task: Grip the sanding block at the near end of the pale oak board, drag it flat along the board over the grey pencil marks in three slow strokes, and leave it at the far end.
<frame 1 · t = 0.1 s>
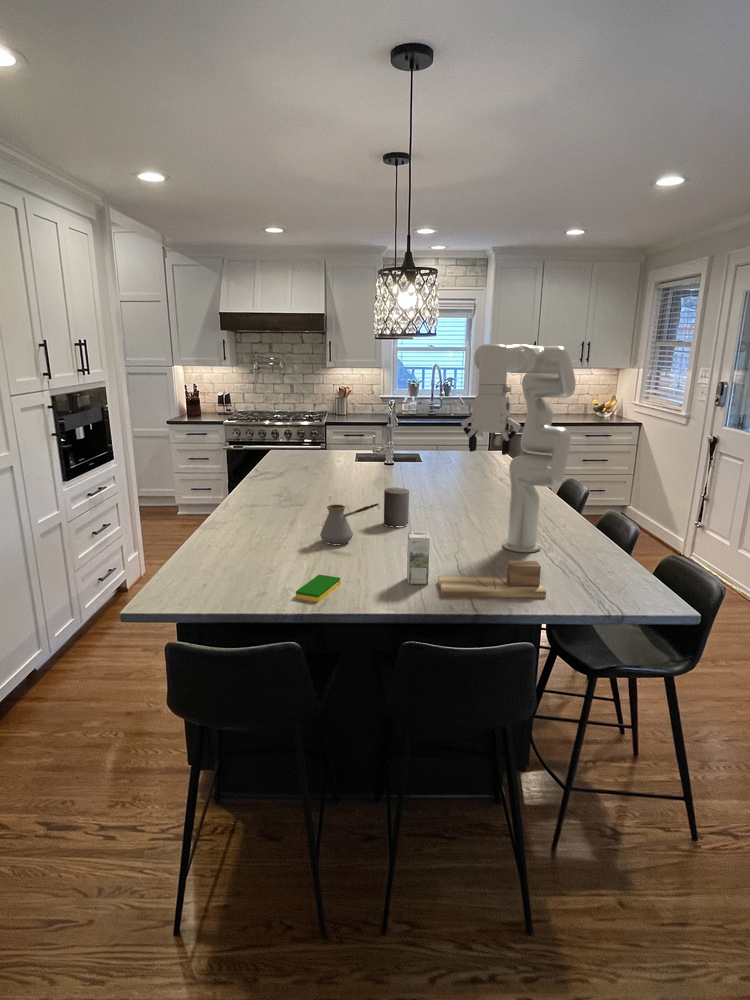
hand: (488, 452, 162), 37 cm above the kitchen island, tool pointing down, fingers open, 9 cm apart
coffee pot: (350, 543, 201), on the kitchen island
pillar candle: (396, 524, 224), on the kitchen island
dish sponge: (319, 593, 161), on the kitchen island
sanding block: (522, 583, 161), point 2 cm above the kitchen island, touching board
syrup box: (417, 582, 167), on the kitchen island
board: (490, 589, 161), on the kitchen island
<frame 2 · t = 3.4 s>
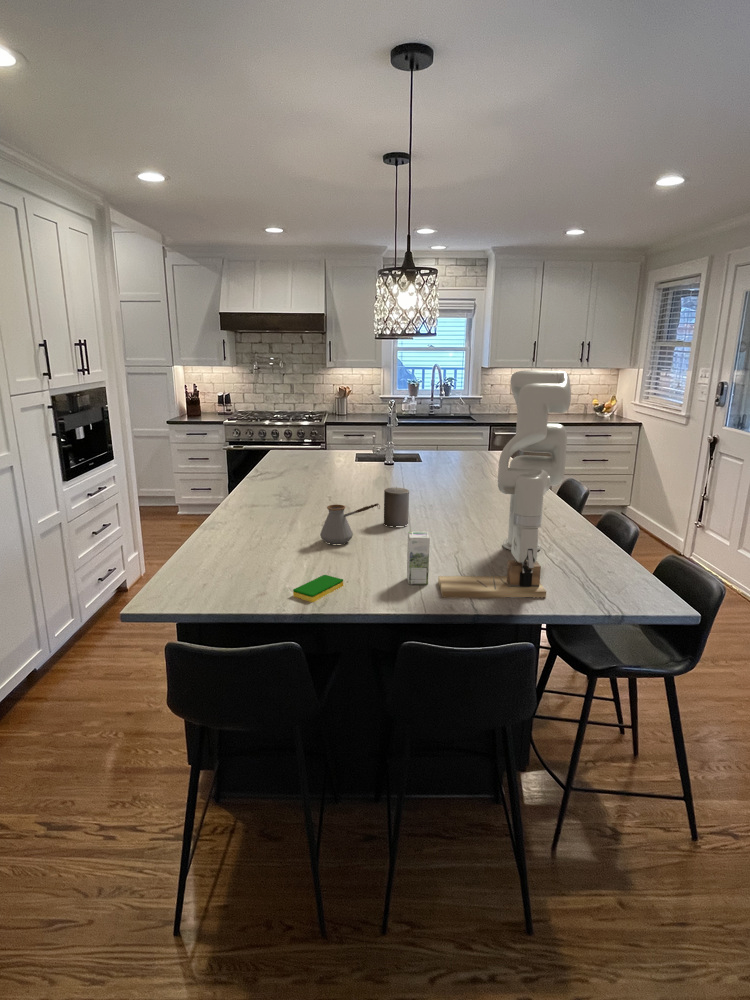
hand: (522, 581, 161), 2 cm above the kitchen island, tool pointing down, fingers closed on sanding block, 4 cm apart
sanding block: (522, 583, 161), point 2 cm above the kitchen island, touching board, gripper
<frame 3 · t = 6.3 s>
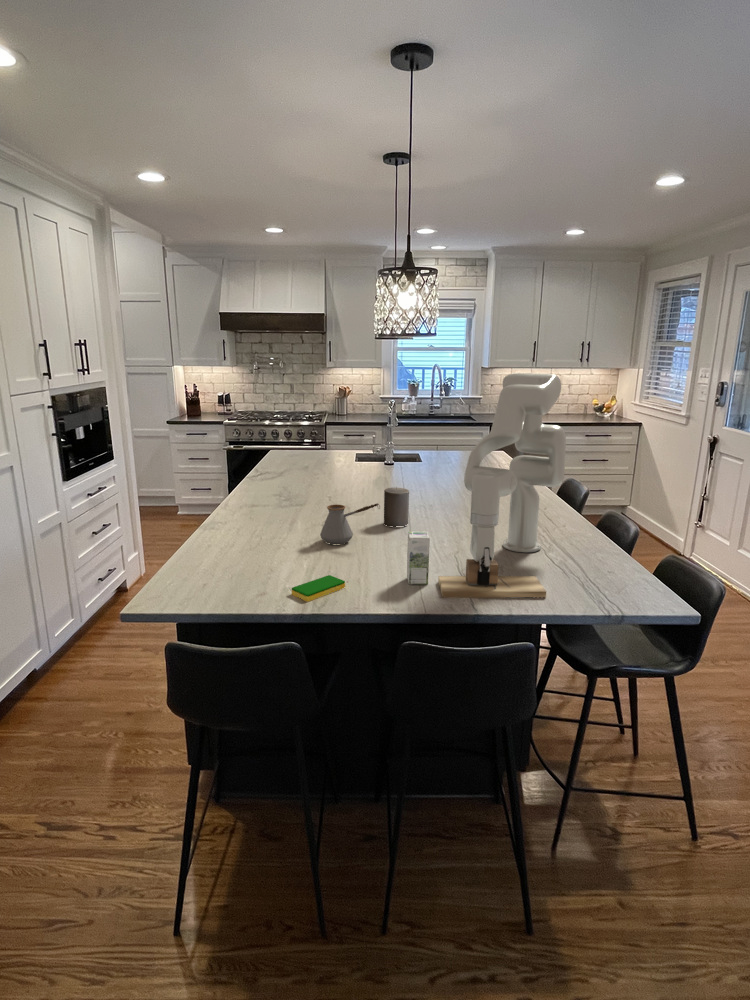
hand: (481, 580, 161), 3 cm above the kitchen island, tool pointing down, fingers closed on sanding block, 4 cm apart
sanding block: (481, 582, 161), point 2 cm above the kitchen island, touching gripper
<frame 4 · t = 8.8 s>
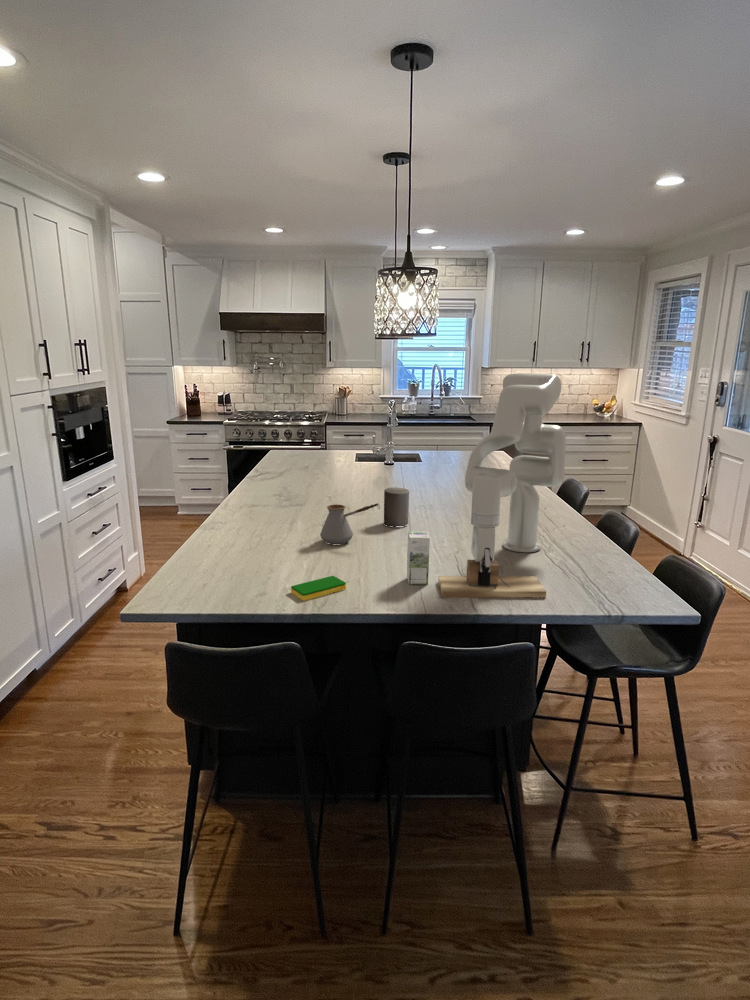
hand: (482, 580, 161), 3 cm above the kitchen island, tool pointing down, fingers closed on sanding block, 4 cm apart
sanding block: (482, 582, 161), point 2 cm above the kitchen island, touching gripper
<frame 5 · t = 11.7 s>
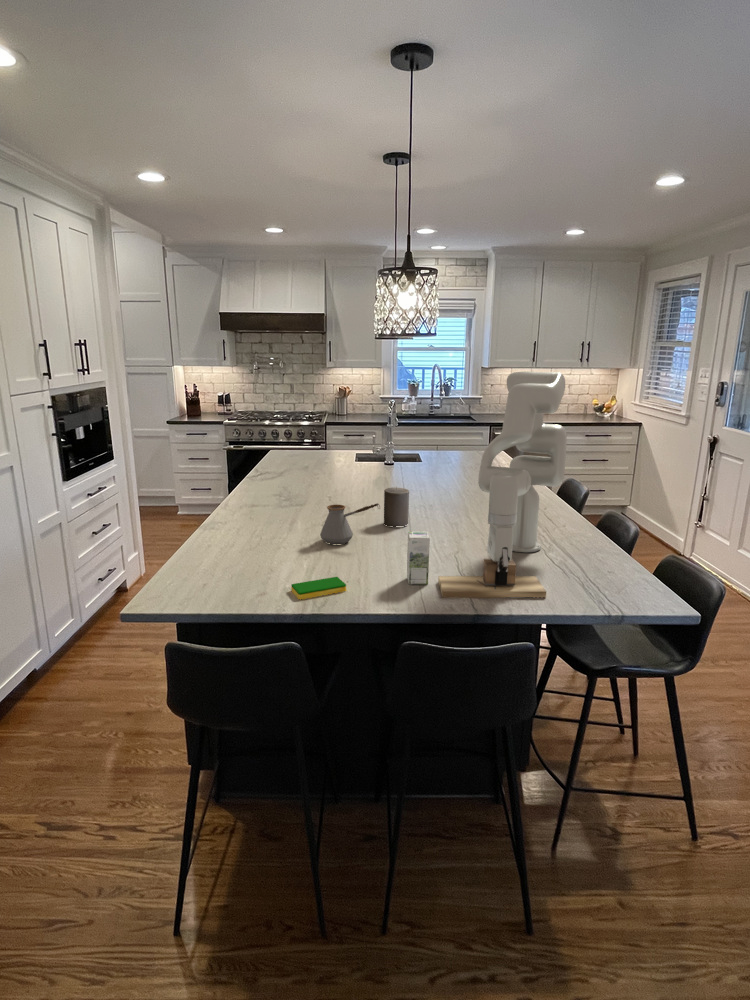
hand: (498, 580, 161), 3 cm above the kitchen island, tool pointing down, fingers closed on sanding block, 4 cm apart
sanding block: (498, 582, 161), point 2 cm above the kitchen island, touching gripper
when the fingers open (3 cm above the kitchen island, at t = 14.5 s): sanding block stays where it is, resting on board.
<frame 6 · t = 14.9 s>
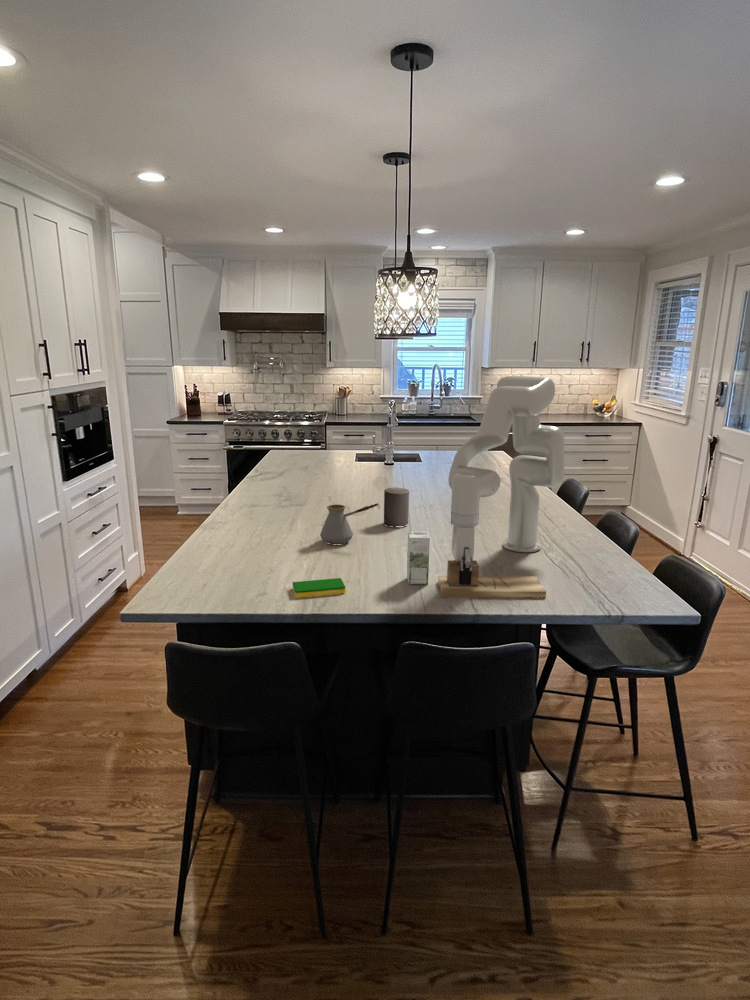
hand: (462, 577, 161), 4 cm above the kitchen island, tool pointing down, fingers open, 9 cm apart
sanding block: (462, 583, 161), point 2 cm above the kitchen island, touching board
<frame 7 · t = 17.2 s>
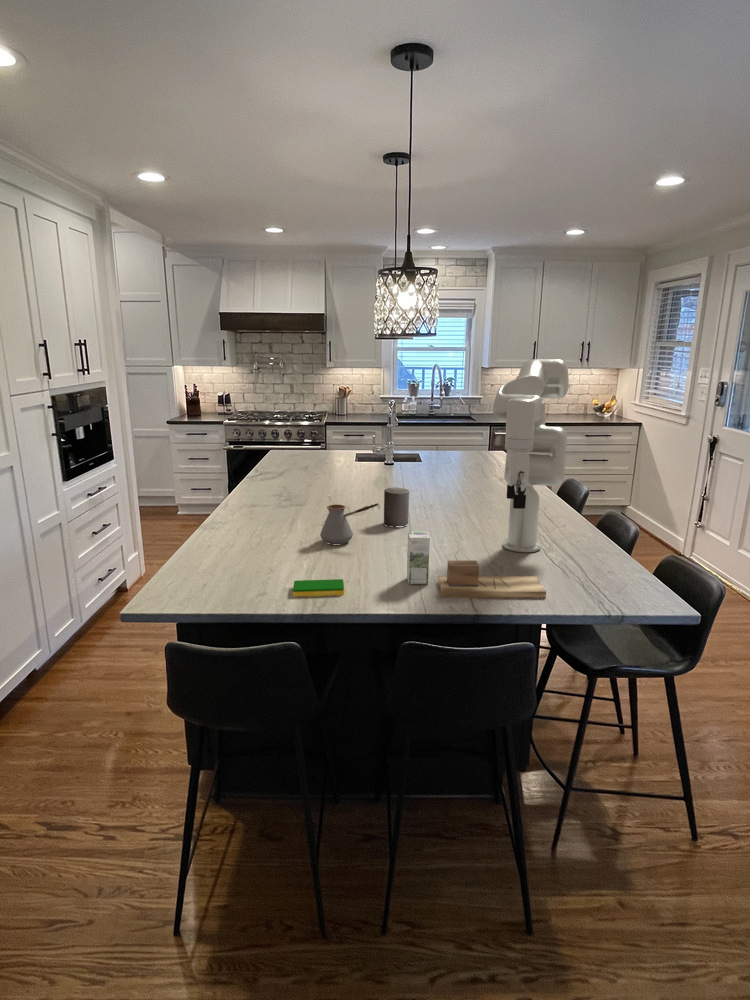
hand: (515, 503, 163), 23 cm above the kitchen island, tool pointing down, fingers open, 9 cm apart
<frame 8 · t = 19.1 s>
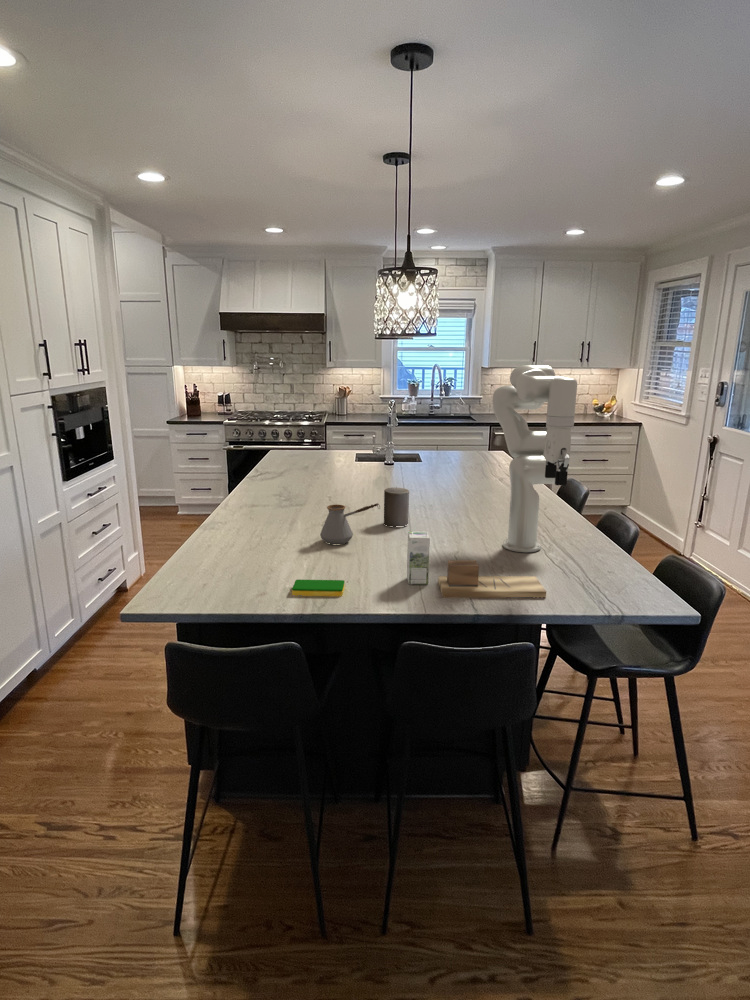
hand: (555, 481, 167), 28 cm above the kitchen island, tool pointing down, fingers open, 9 cm apart
at the end: sanding block inside the target area on the board (0.1 cm from its centre), point 1.8 cm above the board's base; sanding block tilted 0°; the gripper is holding nothing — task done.
